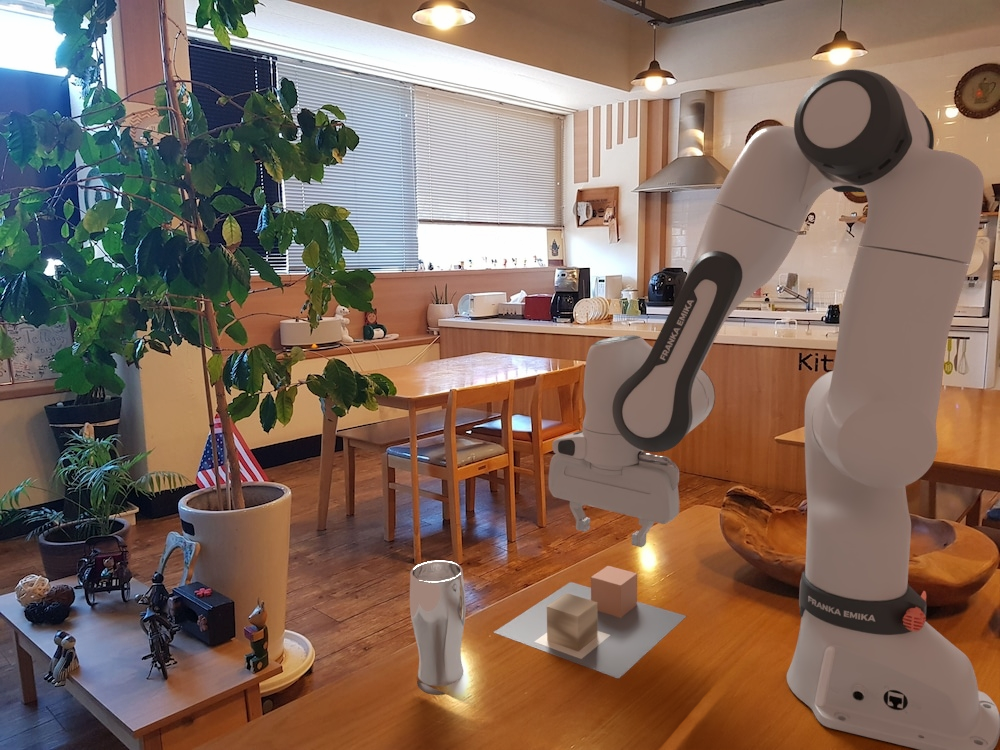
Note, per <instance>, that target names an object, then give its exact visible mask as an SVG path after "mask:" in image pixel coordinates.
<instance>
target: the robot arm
mask: <svg viewBox="0 0 1000 750" xmlns="http://www.w3.org/2000/svg"><path fill="white" fill-rule="evenodd" d="M934 146H935V136H934V130H933V127H932V124H931V122H930V120H929V117H927V115H926V114H925V113H924V112H923V111H922V110H921V109H920V108H919V106H918V105H917V104H916V102H915V101H914V99H913V98H912V97H911V96H910V94H908V93H907V92H906V91H905V90H904V89H902V88H901V87H899V86H898V85H896V84H894V83H892V82H891V80H889V79H888V78H886V77H885V76H883V75H882V74H880V73H877V72H874V71H870V70H866V69H858V68H857V69H854V68H852V69H844V70H839V71H836V72H833V73H831V74H828V75H827V76H825V77H823V78H821V79H820V80H818V81H817V82H816V83H814V85H813V86H811V87H810V88H809V89H808V90H807V92H806V93H805V94H804V96H803V97H802V99H801V100H800V102H799V104H798V106H797V108H796V112H795V116H794V121H793V126H788V125H772V126H766V127H764V128H762V129H759V130H758V131H756V132H755V133H754V134H753V135H751V137H750V138H749V139H748V141H747V142H746V143H745V146H744V147H743V149H741V152H740V153H739V155H738V157H736V160H735V161H734V162H733V165H732V167H731V168H730V169H729V172H728V173H727V176H726V177H725V179H724V181H723V183H722V184H721V187H720V188H719V191H718V193H717V196H716V198H715V200H714V203H713V205H712V207H711V210H710V212H709V215H708V216H707V219H706V222H705V225H704V227H703V230H702V233H701V236H700V238H699V240H698V245H697V247H696V249H695V254H694V256H693V259H692V261H691V264H690V267H689V269H688V271H687V274H686V277H685V279H684V282H683V284H682V287H681V289H680V291H679V292H678V295H677V297H676V299H675V301H674V303H673V305H672V307H671V309H670V311H669V314H668V315H667V317H666V319H665V321H664V324H663V326H662V328H661V330H660V332H659V333H658V336H657V338H656V340H655V341H654V344H653V346H651V345H650V344H649V343H648V342H646V340H645V339H644V338H642V337H641V336H640V335H634V334H633V335H630V334H629V335H628V334H626V335H619V336H613V337H609V338H604V339H601V340H597V341H596V342H594V343H593V344H591V346H590V347H589V348H588V352H587V355H586V360H585V367H584V379H583V400H584V404H585V414H584V418H583V421H582V430H579V431H576V432H572V433H569V434H565V435H563V436H561V437H558V438H556V439H554V440H552V445H551V446H552V451H553V453H554V454H553V456H552V457H551V459H550V462H549V469H548V490H549V492H550V494H551V496H552V497H554V498H557V499H561V500H565V501H569V509H570V511H571V513H572V515H573V517H574V519H575V529H576V530H577V531H581V532H585V533H586V532H587V531H589V530H590V529H591V524H590V523H591V518H590V517H587V516H586V513H585V510H584V508H583V506H588V507H593V508H597V509H601V510H605V511H608V512H613V513H617V514H620V515H624V516H625V515H626V516H628V517H633V518H638V525H639V526H641V528H640V529H639V530H636V531H635V532H633V533H631V541H630V543H631V545H632V546H634V547H638V548H643V547H645V546H646V544H647V534H648V533H649V531H651V528H652V527H653V525H654V524H655V523H656V524H661V525H666V524H668V523H670V522H671V521H673V520H674V519H676V518H677V517H678V515H679V513H680V495H679V493H680V492H679V482H680V470H679V469H680V468H679V467H678V466H677V464H676V463H675V462H674V461H673V460H671V458H670V457H668V456H666V455H665V456H664V455H656V454H653V453H662V452H663V453H664V452H666V451H669V450H671V449H673V448H675V447H676V446H677V445H679V443H680V442H681V441H682V440H683V439H684V438H685V437H686V436H687V435H688V434H689V433H690V432H691V431H693V430H694V429H695V428H696V427H697V426H699V425H700V424H701V423H703V422H704V421H705V420H706V419H707V418H708V417H709V416H710V414H711V413H712V411H713V408H714V406H715V404H716V402H715V401H716V390H715V386H714V384H713V381H712V380H711V378H710V376H709V375H708V373H707V372H706V371H704V370H703V369H702V367H703V365H704V363H705V360H706V359H707V357H708V354H709V353H710V350H711V348H712V346H713V344H714V342H715V340H716V339H717V336H718V335H719V332H720V330H721V328H722V327H723V325H724V324H725V322H726V320H727V319H728V318H729V317H730V315H732V313H733V312H734V311H735V309H737V308H738V306H740V305H741V303H743V302H744V301H745V300H747V298H749V297H750V296H752V295H753V294H754V293H755V292H756V291H758V290H759V289H760V288H762V287H763V286H765V285H766V284H767V283H769V281H770V280H772V278H773V277H774V275H775V274H776V272H777V271H778V270H779V268H780V267H781V266H782V264H783V263H784V261H785V260H786V258H787V256H788V255H789V254H790V252H791V250H792V248H793V246H794V244H795V243H796V241H797V239H798V236H799V234H800V232H801V230H802V228H803V225H804V223H805V221H806V219H807V216H808V214H809V212H810V210H811V208H812V207H813V206H814V204H815V202H816V200H818V198H819V197H821V195H822V194H824V192H826V191H828V190H830V189H832V190H833V191H835V192H837V193H864V194H865V195H866V199H867V200H866V201H867V213H866V214H867V215H866V220H865V225H864V228H863V231H862V234H861V238H860V241H859V244H858V245H859V246H858V248H857V252H856V255H855V257H854V258H855V259H854V262H853V267H852V269H851V273H850V277H849V280H848V283H847V287H846V290H845V293H844V297H843V302H842V306H841V309H840V313H839V326H838V327H839V328H838V334H837V335H838V336H837V343H836V350H835V355H834V364H833V370H831V371H828V372H827V373H825V374H823V375H821V376H820V377H819V378H818V379H817V380H815V381H814V383H813V384H812V386H811V387H810V388H809V391H808V393H807V395H806V399H805V403H804V453H805V454H804V461H805V462H804V463H805V465H804V466H805V485H806V486H805V487H806V488H805V489H806V504H807V505H806V506H807V509H806V510H807V512H806V513H807V514H806V515H807V519H806V521H807V522H806V542H805V543H806V546H805V547H806V548H805V551H806V552H805V568H804V569H805V570H804V571H802V572H801V578H800V582H799V594H798V597H799V598H798V605H799V606H798V607H799V616H800V617H801V619H800V626H799V633H798V637H797V643H796V646H795V650H794V653H793V656H792V660H791V663H790V666H789V668H788V670H787V672H786V682H787V685H788V687H789V689H790V690H791V692H792V693H793V694H794V695H795V696H796V697H797V698H798V699H799V700H800V701H802V702H803V703H804V704H805V705H807V706H808V708H810V709H811V711H812V712H813V714H814V716H815V718H816V719H817V721H818V722H819V723H820V724H821V725H822V726H824V727H826V728H829V729H833V730H836V731H837V730H838V731H842V732H845V733H849V734H853V735H858V736H862V737H865V738H870V739H874V740H879V741H883V742H886V743H887V742H888V743H892V744H896V745H899V746H904V747H907V748H912V749H916V750H994V749H995V748H996V747H997V744H998V743H999V739H1000V712H999V709H998V707H997V704H996V703H995V702H994V701H993V699H992V698H991V697H990V695H988V694H987V693H985V692H983V691H981V690H979V688H978V681H977V677H976V674H975V673H976V672H975V670H974V666H973V664H972V662H971V660H970V659H969V657H968V656H967V655H966V654H965V653H964V652H963V651H961V650H960V649H959V648H958V647H956V645H954V644H953V643H951V641H950V640H948V639H947V638H946V637H945V636H943V635H942V634H941V632H939V631H937V629H935V628H934V627H933V626H932V625H931V624H929V623H928V622H927V621H926V620H927V596H928V595H927V592H926V591H925V590H923V591H922V593H921V595H920V594H918V593H917V592H916V590H914V589H913V588H912V587H911V586H910V585H909V583H908V580H909V566H910V550H911V549H910V548H911V537H912V535H911V533H912V521H911V516H910V512H909V506H908V505H909V504H908V497H907V491H906V487H907V486H909V485H911V484H913V483H914V482H917V481H918V480H919V479H921V478H922V477H924V476H925V474H926V473H927V472H928V471H929V470H930V468H931V467H932V465H933V463H934V462H935V458H936V455H937V452H938V434H937V417H938V410H939V406H940V405H939V404H940V399H941V392H942V391H941V390H942V386H943V385H942V384H943V376H944V375H943V374H944V366H945V364H944V363H945V357H946V356H945V355H946V349H947V343H948V340H949V339H948V338H949V333H950V330H951V327H952V326H951V325H952V323H953V319H954V316H955V313H956V309H957V305H958V303H959V299H960V297H961V293H962V290H963V286H964V284H965V279H966V277H967V275H968V271H969V267H970V263H971V260H972V257H973V254H974V249H975V245H976V241H977V237H978V232H979V227H980V221H981V215H982V208H983V201H984V188H985V186H984V185H985V183H984V182H985V181H984V179H985V178H984V175H983V172H982V171H981V169H980V168H979V167H978V166H977V164H975V162H973V161H972V160H970V159H969V158H967V157H965V156H963V155H960V154H957V153H955V152H951V151H945V150H936V149H934Z"/></svg>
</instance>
